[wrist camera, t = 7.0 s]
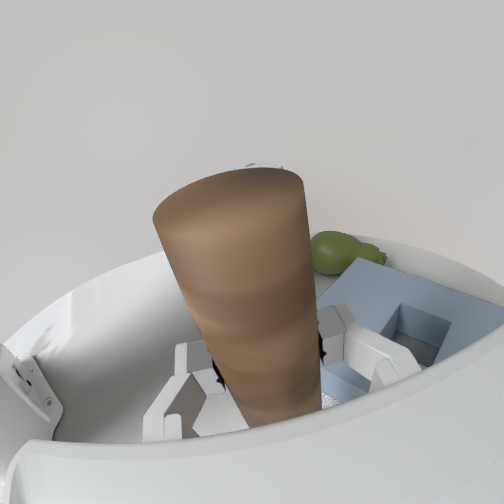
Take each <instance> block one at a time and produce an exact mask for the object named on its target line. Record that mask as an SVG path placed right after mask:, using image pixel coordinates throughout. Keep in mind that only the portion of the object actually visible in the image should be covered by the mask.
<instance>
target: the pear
mask: <svg viewBox="0 0 504 504" xmlns="http://www.w3.org/2000/svg"><path fill="white" fill-rule="evenodd" d="M310 242H311V252H312V261H313V269H314V270H316V271H317V272H319V273H322V274H327V275H334V274H341V273H344V272H345V270H346V269H347V268H348V267H349V266H350V265H351V264H352V263H353V262H354V261H355V260H356V259H357V258H358V257H359V258H362V259H365V260H368V261H371V262H374V263H377V264H380V265H383V266H384V264H385V261H386V259H387V257H386V253H382V252H380V251H379V248H377V247H375V246H374V245H371V244H367V243H362V242H360V241H358V240H357V239H356V238H354V237H352V236H350V235H348V234H345V233H341V232H336V231H324V232H320V233H318V234H317V235H315V236H314V237H313V238H312V240H311V241H310Z"/></svg>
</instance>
